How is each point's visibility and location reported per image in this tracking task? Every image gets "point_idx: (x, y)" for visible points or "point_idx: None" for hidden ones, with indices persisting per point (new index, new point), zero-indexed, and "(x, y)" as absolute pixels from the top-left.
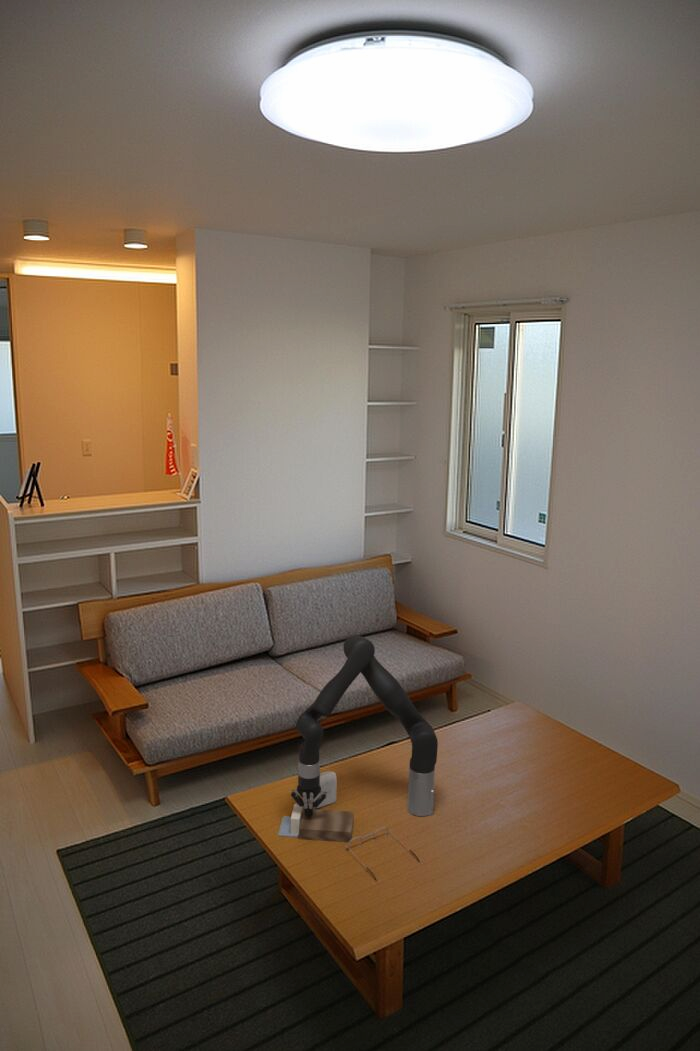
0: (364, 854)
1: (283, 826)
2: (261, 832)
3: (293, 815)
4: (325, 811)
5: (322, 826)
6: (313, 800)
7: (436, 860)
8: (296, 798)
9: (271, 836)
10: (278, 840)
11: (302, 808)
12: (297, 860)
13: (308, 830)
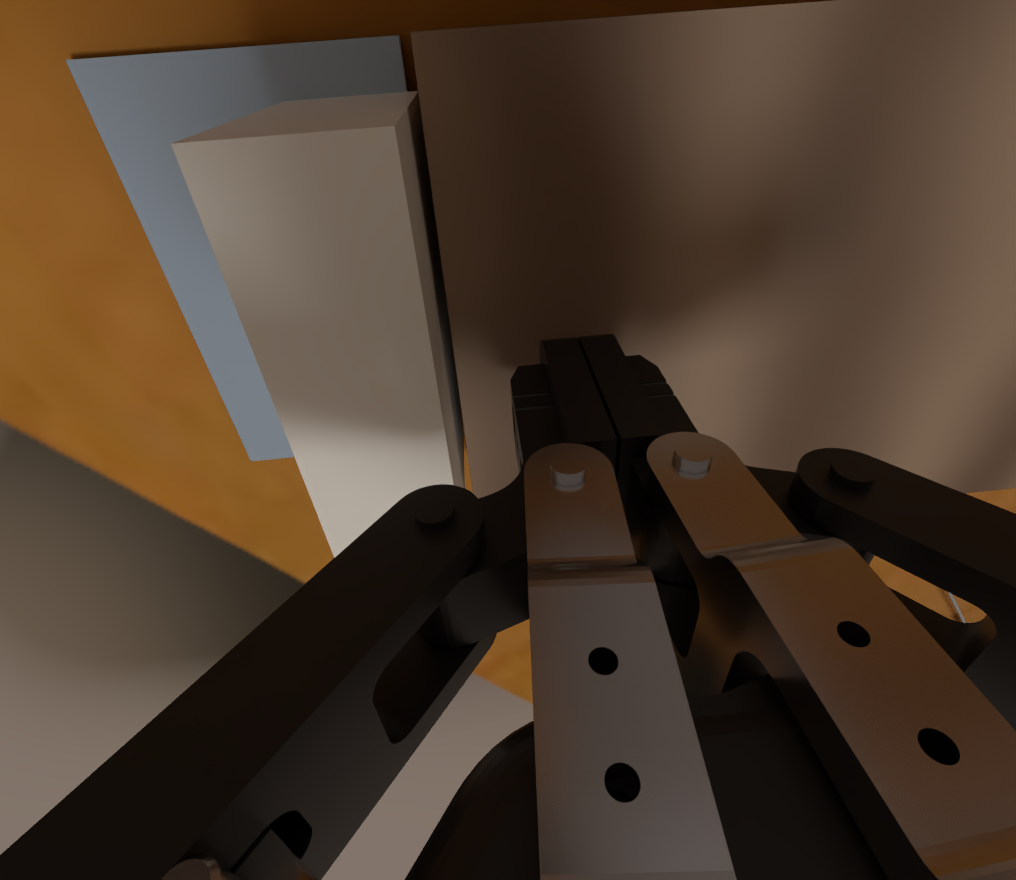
0: (1012, 508)
1: (226, 318)
2: (50, 440)
3: (347, 509)
4: (875, 70)
5: (755, 460)
6: (787, 527)
7: None
8: (323, 842)
9: (195, 471)
10: (292, 503)
11: (411, 181)
12: (519, 631)
13: None
